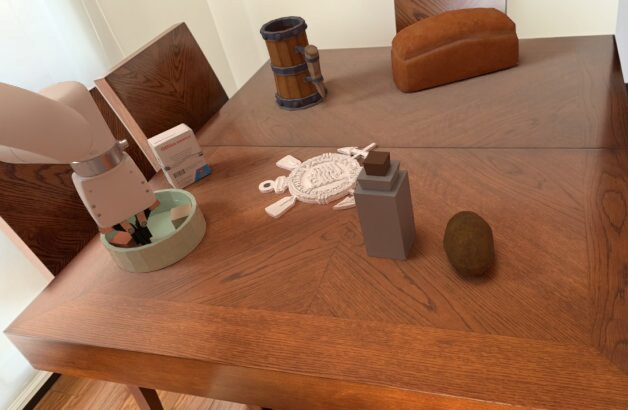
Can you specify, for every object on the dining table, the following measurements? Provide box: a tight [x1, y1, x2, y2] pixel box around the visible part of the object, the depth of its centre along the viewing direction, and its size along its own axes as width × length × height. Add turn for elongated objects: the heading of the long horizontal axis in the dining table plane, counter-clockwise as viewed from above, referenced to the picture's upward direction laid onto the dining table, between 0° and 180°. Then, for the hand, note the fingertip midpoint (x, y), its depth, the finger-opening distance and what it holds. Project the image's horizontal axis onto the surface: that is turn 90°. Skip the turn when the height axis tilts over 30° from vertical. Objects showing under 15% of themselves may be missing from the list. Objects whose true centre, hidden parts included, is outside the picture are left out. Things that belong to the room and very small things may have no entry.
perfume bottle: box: [352, 150, 417, 261], centre depth 81 cm, size 7×7×18 cm
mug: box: [259, 15, 329, 112], centre depth 128 cm, size 19×14×20 cm
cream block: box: [171, 203, 192, 229], centre depth 96 cm, size 4×4×4 cm
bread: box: [390, 7, 520, 93], centre depth 129 cm, size 14×33×16 cm, turn 104°
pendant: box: [258, 142, 377, 220], centre depth 104 cm, size 21×28×1 cm
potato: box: [442, 210, 495, 277], centre depth 79 cm, size 8×12×8 cm, turn 8°
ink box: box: [146, 123, 212, 190], centre depth 109 cm, size 9×5×12 cm, turn 130°
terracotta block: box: [109, 231, 147, 248], centre depth 93 cm, size 4×4×4 cm
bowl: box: [99, 188, 208, 274], centre depth 95 cm, size 18×18×6 cm
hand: (145, 243), depth 91 cm, fingers closed
